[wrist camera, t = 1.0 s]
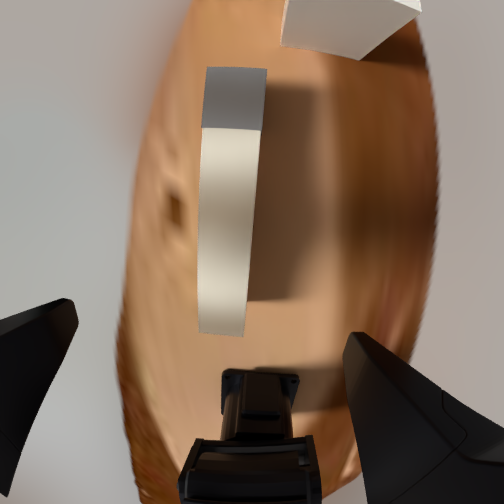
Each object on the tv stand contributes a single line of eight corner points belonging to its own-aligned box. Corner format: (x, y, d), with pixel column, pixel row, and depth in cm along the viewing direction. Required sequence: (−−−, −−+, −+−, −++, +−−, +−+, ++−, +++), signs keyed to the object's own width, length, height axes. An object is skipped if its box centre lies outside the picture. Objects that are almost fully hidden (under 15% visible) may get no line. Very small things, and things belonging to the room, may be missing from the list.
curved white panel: (247, 301, 19) (244, 338, 15) (209, 297, 19) (197, 333, 15) (265, 87, 14) (267, 68, 10) (219, 85, 14) (206, 66, 10)
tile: (359, 60, 13) (422, 12, 6) (280, 46, 13) (293, -24, 6) (359, 32, 12) (415, -24, 5) (282, 18, 12) (295, -57, 5)
